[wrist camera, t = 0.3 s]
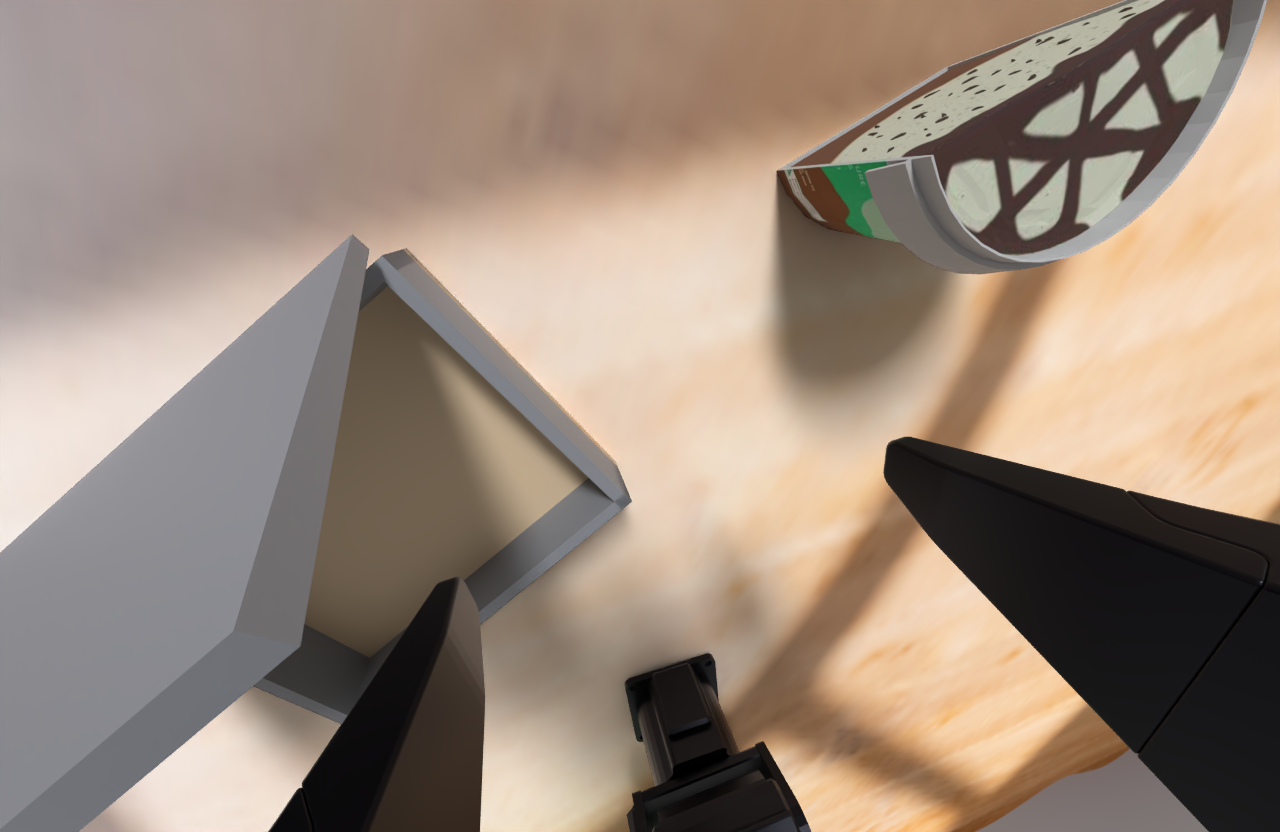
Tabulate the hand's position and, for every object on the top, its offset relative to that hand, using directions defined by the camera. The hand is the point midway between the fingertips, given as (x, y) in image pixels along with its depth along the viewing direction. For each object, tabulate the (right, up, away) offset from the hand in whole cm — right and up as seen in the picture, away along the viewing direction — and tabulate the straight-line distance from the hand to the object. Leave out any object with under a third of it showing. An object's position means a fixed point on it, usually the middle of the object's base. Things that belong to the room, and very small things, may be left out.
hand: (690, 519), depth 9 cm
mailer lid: (-14, -2, +1) cm, 14 cm away
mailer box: (-13, -1, +14) cm, 19 cm away
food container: (+11, +14, +14) cm, 22 cm away
